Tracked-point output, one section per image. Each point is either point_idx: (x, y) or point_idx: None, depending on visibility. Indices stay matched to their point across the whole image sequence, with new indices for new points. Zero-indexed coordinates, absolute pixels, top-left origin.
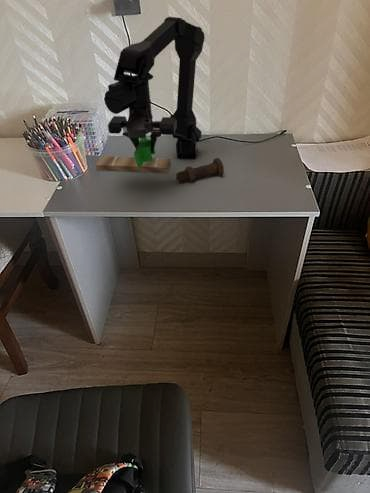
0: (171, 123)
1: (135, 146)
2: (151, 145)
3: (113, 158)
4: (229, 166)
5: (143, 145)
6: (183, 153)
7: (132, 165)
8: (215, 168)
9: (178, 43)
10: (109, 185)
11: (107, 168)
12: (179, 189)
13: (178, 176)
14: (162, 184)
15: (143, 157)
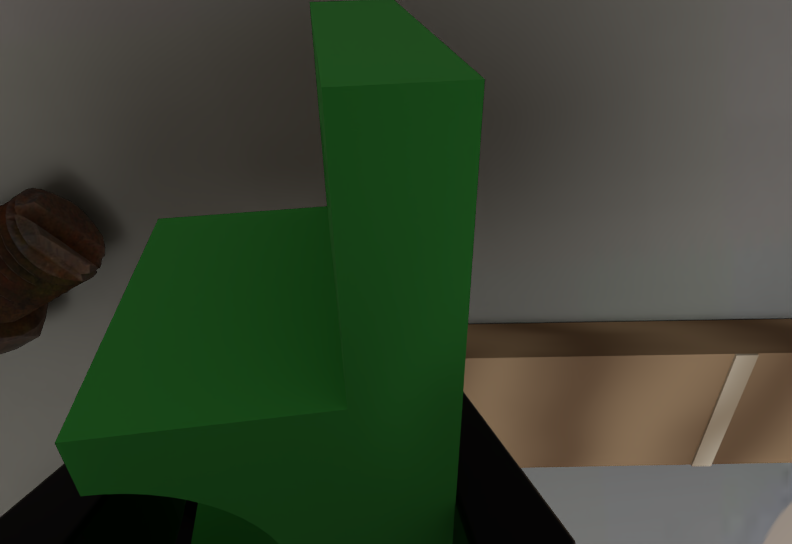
0: None
1: (508, 486)
2: (54, 533)
3: (728, 441)
4: None
5: (290, 523)
6: (181, 532)
7: (553, 369)
8: None
9: None
10: (754, 93)
11: (774, 332)
12: (17, 93)
13: (18, 219)
14: (222, 163)
15: (305, 253)
